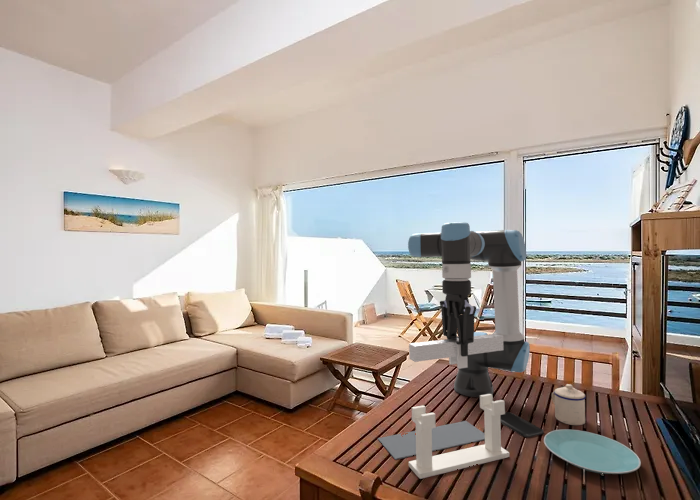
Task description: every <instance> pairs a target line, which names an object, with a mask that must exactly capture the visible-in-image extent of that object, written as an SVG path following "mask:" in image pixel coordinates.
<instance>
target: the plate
mask: <svg viewBox="0 0 700 500" xmlns="http://www.w3.org/2000/svg"><path fill="white" fill-rule="evenodd" d="M543 443H544V446H545V447H546V448H547V449H548V450H549V451H550V452H551V453H552V454H553V455H555V456H556V457H558V458H559V459H562V460H563V461H565V462H567V463H568V464H570V465H572V466H574V467H576V468H579V469H581V470H584V471H587V472H592V473H594V474H595V473H596V474H603V475H611V474H612V475H623V474H629V473H633V472H636V471H637V470H639V469H640V467H641V464H642V463H641V458H639V456H638V454H637V453H635V452H634V450H632V449H631V448H630V447H628V446H626V445H625V444H623V443H622V442H619V441H617V440H615V439H612V438H609V437H607V436H604V435H602V434H601V435H600V434H597V433H594V432H589V431H585V430H579V429H567V428H566V429H555V430H551V431H550V432H547V433H546V434H545V436H544V438H543Z"/></svg>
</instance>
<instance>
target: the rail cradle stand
mask: <svg viewBox="0 0 700 500" xmlns="http://www.w3.org/2000/svg"><path fill="white" fill-rule="evenodd" d="M505 405H506V403H505V400H503V399H499V400H498V399H497V400H495V401H494V398H493V394H485V395H480V397H479V408H480V409H482V411H484V412H483V416H484V433H485V440H484V444H480V445H475V446H471V447H466V448H462V449H458V450H454V451H449V452H445V453H441V454H437V455H433V451H432V428H436V427H437V425H436V413H434V412H429V413H426V409H427V408H426V406H425V405H419V406H413V407H411V421H412V422H413V423H414V424H415V431H416V455H415V459H414V460H410V461H408V467H409V468H410V469H411V471H412V472H413V473H414V474H415V475H416V477H418V479H420V480H421V479H425V478H429V477H434V476H437V475H442V474H445V473H450V472H454V471H457V469H458V470H462V469H466V468H470V467H474V466H477V465H476V464H478V465H483V464H485V463H486V464H487V463H491V462H494V461H498V460H502V459H507V458H510V452H509V451H508V450H507V449H505V448H503V447H502V438H501V437H502V436H501V435H502V432H501V431H502V430H501V425H502V424H501V422H500V415H503V414H505V413H506V407H505ZM473 465H474V466H473ZM469 466H470V467H469Z"/></svg>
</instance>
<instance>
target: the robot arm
mask: <svg viewBox="0 0 700 500" xmlns="http://www.w3.org/2000/svg"><path fill="white" fill-rule="evenodd" d="M440 231H441V232H423V233H421V232H419V233H413V234H411V235H410V236H409V238H408V240H407V245H408V246H407V249H408V252H409V254H410V256H412V257H414V258H439V257H440V258H441V264H442V266H441V267H442V268H441V273H442V274H441V275H442V278H443V281H442V282H441V283H442V284H441V287H442V294H444V295H445V299H444V300H440V301H439V306H440V310H441V325H442V335H443V337H446V339H454V338H458V339H459V342H457V356H456V357H449V358H448V362H449V363H448V364H449V365H456V366H457V369H458V370H457V373H456V376H455V380H454V383H453V385H454V386H453V389H454V391H455V392H456V393H458V394H460V395H463V396H466V397H472V398H480V395H485V394H492V395H493V394H494V386H493V383H492V379H491V377H490V374H489V369H494V370H500V371H506V372H510V373H523V372H525V370H526V369H527V366H528V363H529V359H530V352H531V351H530V350H531V345H530V343H529V342H528V341H525V335H524V334H522V332H521V329H520V308H519V285H518V283H519V282H518V281H519V280H518V270H519V268H521V266H522V262H525V261H526V259H527V247H526V243H525V240H524V236H523V234H522V232H520V231H519V230H517V229H501V230H499V229H498V230H481V231H474V230H471V228H470V224H469V222H465V221H464V222H459V221H457V222H456V221H455V222H446V223H443V224H442V225H441V230H440ZM471 261H478V262H479V261H480V262H487V263H488V267H489V268H490V269H491V270H492V279H493V280H492V282H493V283H492V284H493V285H492V286H493V303H494V304H493V305H494V307H493V308H494V326H495V327H494V329H495V330H494V332H493V333H492V334H498V335H502V336H503V350H501V351H493V352H486V353H479V354H471V355H468V343H473V342H474V336H480V335H488V333H487V332H482V331H475V314H476V312H477V306H476V305H471V304H470V300H469V297H468V296H469V295H471V294H472V281H471V280H470V279H471V278H472V267H471V266H472V264H471Z"/></svg>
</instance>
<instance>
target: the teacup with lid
mask: <svg viewBox="0 0 700 500" xmlns="http://www.w3.org/2000/svg"><path fill="white" fill-rule="evenodd" d="M586 398H587V397H586V394H585V393H584V392H583V391H581V390H579V389H577V388H575V387H574V386H573V384H571V383H570V384H568V383H567V384H565V386H562V387H558V388H555V389H554V391H553V392H551V400H552V403H553V404H554V412H555V413H554V415H555V419H556V420H557V421H559V422H560V423H563V424H565V425H568V426H569V425H570V426H582V425H585V423H586V400H585V399H586Z"/></svg>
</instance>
